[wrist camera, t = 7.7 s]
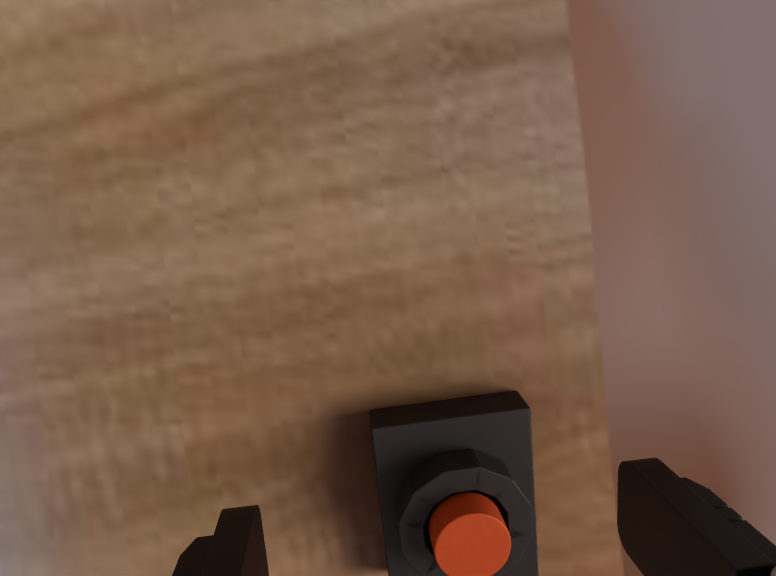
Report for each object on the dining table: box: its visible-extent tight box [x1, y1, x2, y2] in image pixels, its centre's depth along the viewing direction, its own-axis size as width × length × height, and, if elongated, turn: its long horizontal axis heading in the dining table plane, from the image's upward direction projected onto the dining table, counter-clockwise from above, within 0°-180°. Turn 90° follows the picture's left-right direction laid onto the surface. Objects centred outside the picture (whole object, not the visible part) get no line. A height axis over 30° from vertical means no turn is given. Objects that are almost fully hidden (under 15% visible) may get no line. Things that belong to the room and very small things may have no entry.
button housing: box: [369, 391, 538, 576], centre depth 29 cm, size 8×10×4 cm
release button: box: [429, 492, 511, 576], centre depth 27 cm, size 4×4×2 cm
